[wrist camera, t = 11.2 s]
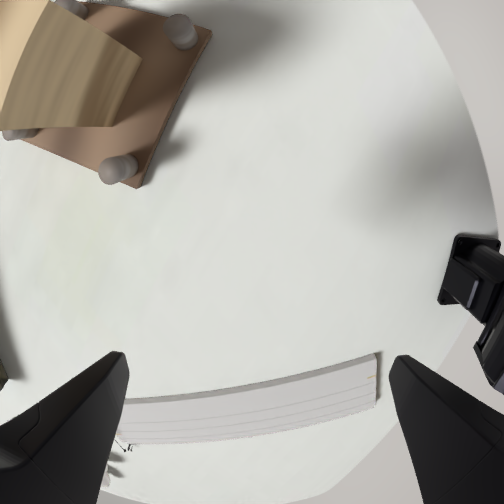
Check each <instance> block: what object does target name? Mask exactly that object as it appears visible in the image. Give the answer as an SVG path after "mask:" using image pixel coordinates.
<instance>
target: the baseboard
mask: <svg viewBox="0 0 504 504" xmlns="http://www.w3.org/2000/svg"><path fill="white" fill-rule="evenodd" d="M376 372H377V359H376V357H375V355H374V353H373V354H370V355H367V356H363V357H360V358H357V359H354V360H350V361H347V362H343V363H340V364H336V365H333V366H329V367H325V368H321V369H318V370H314V371H310V372H306V373H301V374H297V375H293V376H288V377H284V378H279V379H275V380H270V381H265V382H260V383H255V384H249V385H244V386H238V387H232V388H226V389H219V390H213V391H205V392H198V393H190V394H181V395H172V396H161V397H149V398H134V399H125V400H124V405H123V410H122V415H121V418H120V422H119V425H118V428H117V431H116V435H117V436H118V437H119V439H120V440H121V441H122V442H127V443H128V444H129V446H131V445H130V444H181V443H198V442H210V441H221V440H230V439H238V438H246V437H253V436H259V435H265V434H271V433H277V432H282V431H287V430H292V429H297V428H302V427H306V426H310V425H315V424H319V423H323V422H327V421H331V420H334V419H338V418H342V417H345V416H349V415H352V414H355V413H359V412H362V411H365V410H368V409H371V408H374V405H376ZM114 440H115V439H114ZM115 441H116V440H115ZM132 447H133V446H132ZM122 449H123V448H122ZM128 449H130V447H128ZM123 450H124V449H123ZM130 450H131V451H132V448H131V449H130ZM128 451H129V450H128ZM124 452H126V450H124Z"/></svg>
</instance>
